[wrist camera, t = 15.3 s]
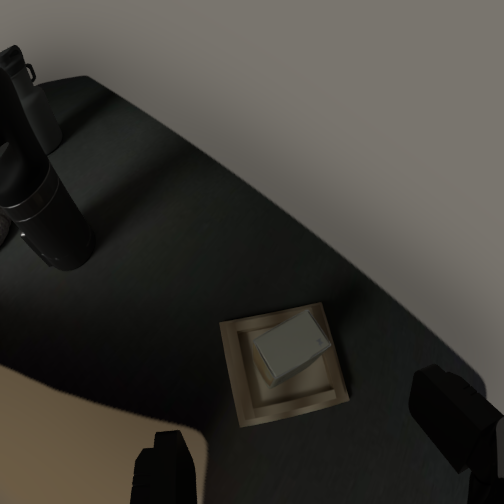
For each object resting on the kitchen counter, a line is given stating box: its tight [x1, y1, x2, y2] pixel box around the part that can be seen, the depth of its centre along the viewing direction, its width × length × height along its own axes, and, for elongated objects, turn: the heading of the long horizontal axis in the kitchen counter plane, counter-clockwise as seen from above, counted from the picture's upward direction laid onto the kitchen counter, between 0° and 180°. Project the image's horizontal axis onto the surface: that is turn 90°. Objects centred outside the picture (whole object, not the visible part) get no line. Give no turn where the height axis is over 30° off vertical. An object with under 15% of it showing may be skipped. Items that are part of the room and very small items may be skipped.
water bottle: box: [0, 45, 63, 155], centre depth 50 cm, size 10×10×28 cm
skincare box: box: [253, 310, 331, 389], centre depth 33 cm, size 6×4×12 cm
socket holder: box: [219, 302, 350, 427], centre depth 38 cm, size 14×14×2 cm
